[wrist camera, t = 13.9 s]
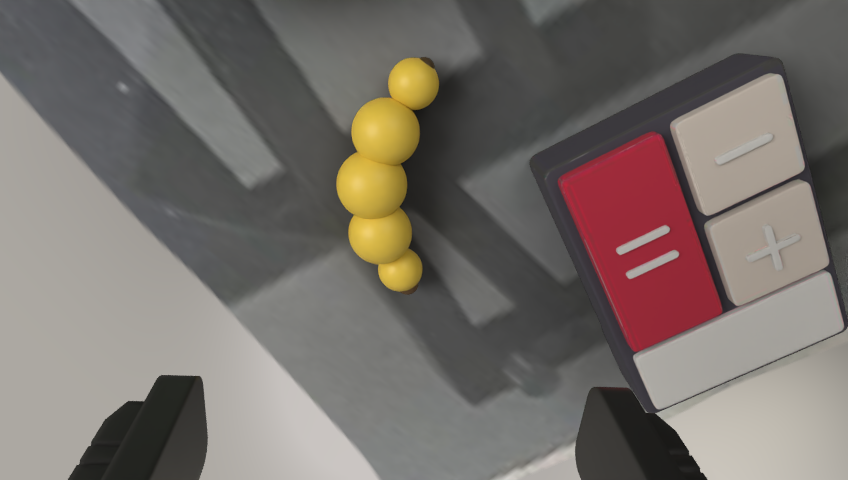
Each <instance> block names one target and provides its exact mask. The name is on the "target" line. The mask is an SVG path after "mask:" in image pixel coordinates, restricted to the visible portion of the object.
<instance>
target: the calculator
mask: <svg viewBox="0 0 848 480" xmlns="http://www.w3.org/2000/svg"><path fill="white" fill-rule="evenodd" d="M530 168H531V170H532V173H533V175H534V177H535V179H536V181H537V184H538V186H539V188H540V190H541V193H542V195H543V197H544V199H545V201H546V204H547V206H548V208H549V210H550V212H551V215H552V217H553V219H554V221H555V224H556V226H557V228H558V230H559V232H560V235H561V237H562V239H563V241H564V244H565V246H566V248H567V250H568V252H569V255H570V257H571V259H572V261H573V264H574V266H575V268H576V270H577V272H578V275H579V277H580V279H581V281H582V284H583V286H584V288H585V290H586V292H587V295H588V297H589V299H590V301H591V304H592V306H593V308H594V310H595V312H596V315H597V317H598V319H599V321H600V324H601V327H602V330H603V333H604V335H605V337H606V340H607V342H608V344H609V346H610V348H611V351H612V353H613V355H614V357H615V360H616V362H617V364H618V366H619V368H620V371H621V373H622V374H623V376H624V378H625V379H626V381H627V382H628V384H629V385H630V387H631V389H632V390H633V392H634V393H635V395H636V396H637V398H638V399H639V401H640V402H641V404H642V405H643V407H644V408H645V410H646V411H647V412H648V413H657V412H659V411H662V410H664V409H666V408H669V407H671V406H673V405H676V404H678V403H680V402H683V401H685V400H687V399H690V398H692V397H694V396H696V395H699V394H701V393H703V392H706V391H708V390H710V389H713V388H715V387H717V386H720V385H722V384H724V383H726V382H729V381H731V380H733V379H736V378H738V377H740V376H743V375H745V374H747V373H750V372H752V371H754V370H756V369H759V368H761V367H763V366H766V365H768V364H770V363H773V362H775V361H777V360H780V359H782V358H784V357H786V356H789V355H791V354H793V353H796V352H798V351H800V350H803V349H805V348H807V347H810V346H812V345H814V344H817V343H819V342H821V341H823V340H826V339H828V338H830V337H833V336H835V335H837V334H839V333H842V332H843V331H845V330H846V329H847V327H848V319H847V315H846V311H845V307H844V303H843V299H842V295H841V291H840V287H839V283H838V279H837V275H836V271H835V267H834V263H833V259H832V255H831V251H830V247H829V243H828V239H827V236H826V232H825V228H824V224H823V220H822V216H821V212H820V208H819V204H818V200H817V196H816V192H815V188H814V184H813V180H812V176H811V172H810V168H809V164H808V160H807V156H806V152H805V149H804V145H803V141H802V137H801V133H800V129H799V125H798V121H797V117H796V113H795V109H794V105H793V101H792V97H791V93H790V89H789V85H788V81H787V77H786V73H785V69H784V66H783V63H782V61H781V60H780V59H778V58H774V57H767V56H758V55H748V54H734V55H732V56H730V57H728V58H726V59H724V60H722V61H720V62H718V63H716V64H714V65H712V66H710V67H708V68H706V69H704V70H702V71H700V72H698V73H696V74H694V75H692V76H690V77H688V78H686V79H684V80H682V81H680V82H678V83H676V84H674V85H672V86H670V87H668V88H666V89H664V90H662V91H660V92H658V93H656V94H654V95H652V96H650V97H648V98H646V99H644V100H642V101H640V102H638V103H636V104H635V105H633V106H631V107H629V108H627V109H625V110H623V111H621V112H619V113H617V114H615V115H613V116H611V117H609V118H607V119H605V120H603V121H601V122H599V123H597V124H595V125H593V126H591V127H589V128H587V129H585V130H583V131H581V132H579V133H577V134H575V135H573V136H571V137H569V138H567V139H565V140H563V141H561V142H559V143H557V144H555V145H553V146H551V147H549V148H547V149H545V150H543V151H541V152H539V153H537V154H536V155H534V156H533V157H532V158H531V160H530Z"/></svg>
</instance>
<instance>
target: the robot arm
mask: <svg viewBox="0 0 848 480" xmlns="http://www.w3.org/2000/svg"><path fill="white" fill-rule="evenodd" d="M207 439H208V437H207V423H206V412H205V400H204V389H203V382H202V379H201V377H200V376H176V375H175V376H173V375H161V376H159V377H158V378H157V380H156V382H155V383H154V385H153V387H152V389H151V391H150V393H149V394H148V396H147V398H146V400H145V401H144V402H143V401H128V402H126V403H125V404H124V405H123V406H122V407H120V408H119V409H118V410H117V411H115V412H114V413H113V414H112V415H110V416H109V417H108V418H107V419H105V421H104V422H103V424H102V426H101V427H100V429H99V430H98V432H97V434H96V435H95V437H94V438H93V440H92V442H91V446H89V447H88V448H87V450H86V451H85V453H84V455H83V456H82V458H81V459H80V464H79V465H77V466H76V468H75V469H74V471H73V472H72V474H71V475H70V477H69V479H68V480H199V478H200V475H201V472H202V469H203V466H204V462H205V458H206V452H207ZM575 456H576V464H577V469H578V472H579V475H580V478H581V480H707V478H706V477H705V475H704V474H703V473H701V472H700V468H699V466H698V465H697V463H696V461H695V460H694V458H693V457H692V456H690V455H689V451H688V449H687V448H686V446H685V445H684V443H683V442H682V440H681V439H680V437H679V435H678V434H677V432H676V431H675V430H674V429H673V428H672V427H670V426H669V425H668V424H667V423H666V422H665V421H663V420H662V419H661V418H660V417H659V416H657V415H656V414H655V413H645V411H644V410H643V408H642V406H641V405H640V403H639V401H638V400H637V398H636V396H635V395H634V393H633V392H632V391H631V390H630V389H629V388H613V387H593V388H591V390H590V391H589V393H588V397H587V401H586V405H585V409H584V413H583V417H582V421H581V424H580V428H579V432H578V436H577V440H576V447H575Z"/></svg>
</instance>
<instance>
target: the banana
mask: <svg viewBox="0 0 848 480" xmlns="http://www.w3.org/2000/svg"><path fill="white" fill-rule="evenodd" d="M388 87H389V92H390V94H391V96H392V98H377V99H374V100H371V101H369V102H368V103H366V104H365V105H364V106H362V107H361V108H360V110H359V111H358V112H357V114H356V116H355V118H354V120H353V124H352V140H353V143H354V146H355V148H356V150H357V151H358V152H356V153H354V154H353V155H351V156H350V157H349V158H348V159H347V160H346V161H345V162H344V163H343V164H342V166H341V168H340V170H339V172H338V176H337V193H338V196H339V198H340V200H341V202H342V204H343V205H344V207H345V208H346V209H347V210H348V211H349V212H351V213H352V214H354V216H353V217H352V219H351V222H350V225H349V241H350V244H351V246H352V248H353V250H354V251H355V252H356V254H357V255H358V256H359V257H361V258H362V259H364V260H365V261H367V262H370V263H373V264H379V266H378V273H379V277H380V279H381V281H382V282H383V284H384V285H385V286H386V287H388V288H389V289H391V290H394V291H400V292H401V293H402V294H406V295H409V294H412V293H414V292H415V291H416V290H417V288H418V282H419V280H420V278H421V276H422V263H421V260H420V258H419V257H418V255H417V254H416V253H415V252H414V251H412V250H410V249H408V247H409V245H410V242H411V238H412V227H411V223H410V220H409V218H408V216H407V215H406V213H405V212H404V211H403V210H402V209H401V208H400V205H401V204H402V202H403V200H404V198H405V196H406V192H407V177H406V174H405V171H404V169H403V167H402V165H401V163H403V162H404V161H406V160H407V159H408V158H409V157H410V156H411V155H412V154H413V153H414V151H415V149H416V148H417V145H418V142H419V137H420V128H419V123H418V120H417V117H416V116H415V114H414V112H413V111H412V110H419V109H422V108H425V107H426V106H428V105H429V104H430V103H431V102H432V101H433V100H434V99H435V97H436V95H437V93H438V89H439V79H438V75H437V73H436V71H435V67H434V63H433V62H432V60H431V59H429V58H427V57H421V58H407V59H404V60H402V61H400V62H399V63H397V64H396V65H395V66H394V68H393V69H392V71H391V73H390V76H389V80H388Z"/></svg>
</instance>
